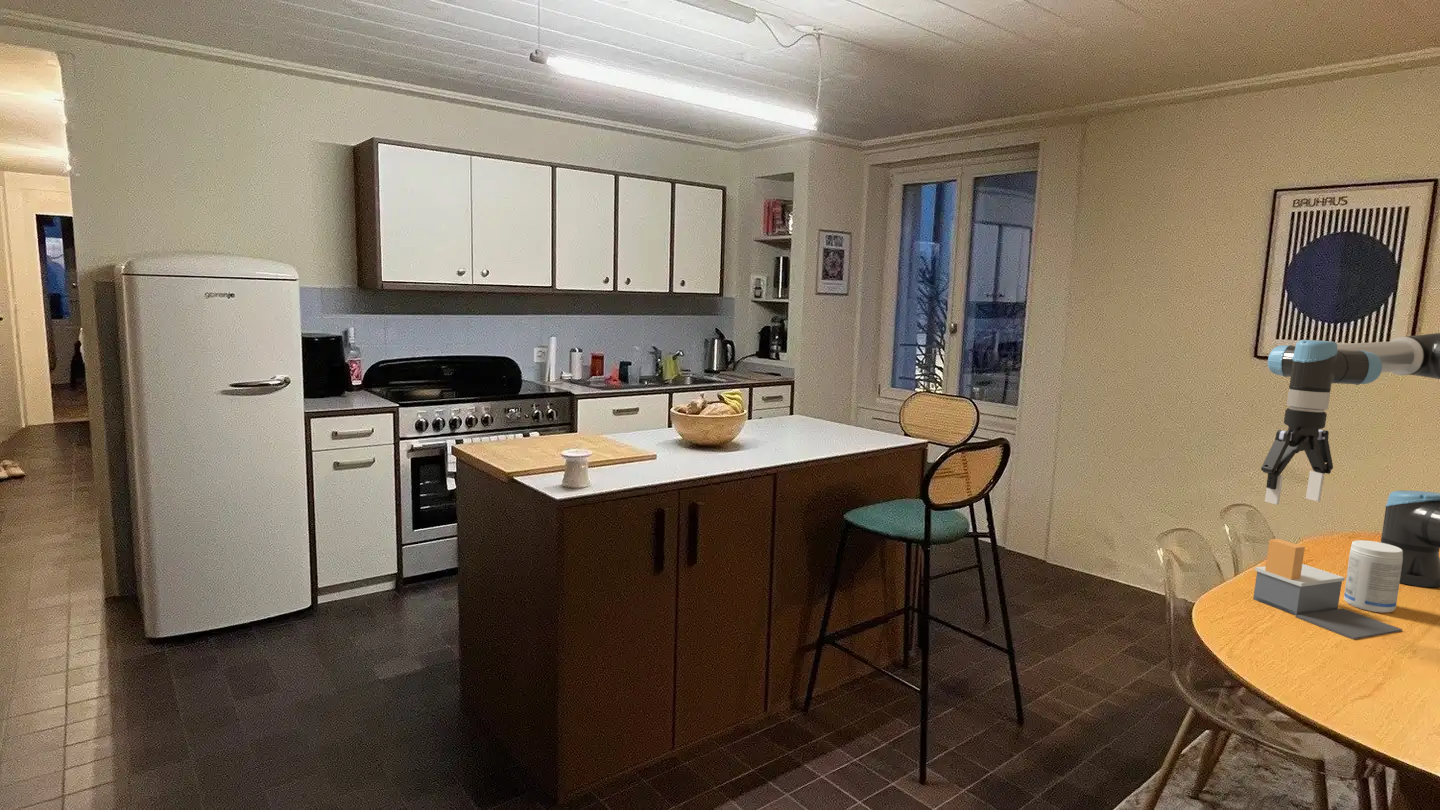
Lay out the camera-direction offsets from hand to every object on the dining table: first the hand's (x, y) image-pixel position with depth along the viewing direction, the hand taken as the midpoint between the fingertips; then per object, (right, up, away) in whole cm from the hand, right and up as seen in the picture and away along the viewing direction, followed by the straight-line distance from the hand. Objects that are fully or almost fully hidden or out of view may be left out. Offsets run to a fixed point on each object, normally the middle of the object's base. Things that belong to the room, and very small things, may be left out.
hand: (1292, 501), depth 180 cm
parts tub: (+5, -25, +6) cm, 26 cm away
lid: (+5, -18, +5) cm, 19 cm away
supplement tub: (+22, -26, +6) cm, 35 cm away
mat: (+9, -26, -5) cm, 28 cm away
